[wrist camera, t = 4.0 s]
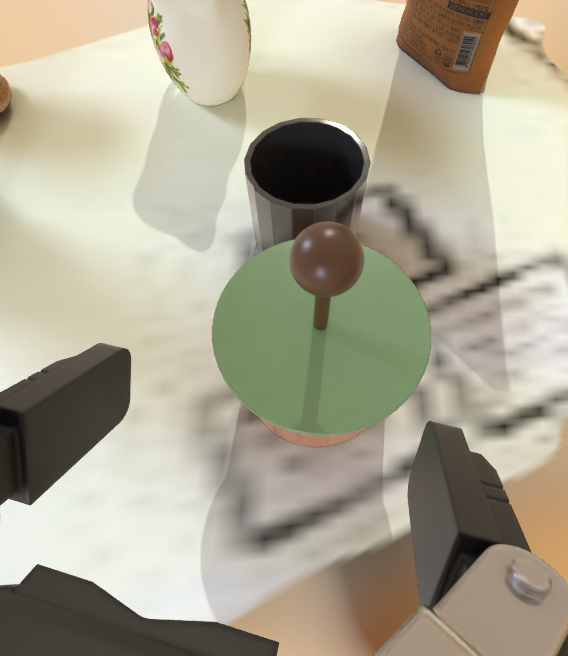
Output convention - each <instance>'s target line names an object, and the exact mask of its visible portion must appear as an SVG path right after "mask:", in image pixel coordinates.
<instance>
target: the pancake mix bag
mask: <svg viewBox="0 0 568 656" xmlns="http://www.w3.org/2000/svg"><path fill="white" fill-rule="evenodd" d="M518 1H519V0H407V4H406V7H405V10H404V12H403V15H402V18H401V21H400V25H399V32H398V36H397V40H396V41H397V43H398V46H399V48H401V49H402V50H403V51H404V52H406V53H407V54H408V55H409V56H411V57H412V58H413V59H414V60H416V61H417V62H418V63H419V64H420V65H422V66H423V67H424V68H426V69H427V70H428V71H429V72H431V73H432V74H433V75H434V76H436V77H437V78H438V79H439V80H440V81H441V82H442V83H443V84H444V85H445V86H447V87H448V88H449V89H453V90H456V91H460V92H470V93H484V90H485V86H486V81H487V78H488V74H489V71H490V68H491V65H492V63H493V60H494V57H495V54H496V51H497V48H498V45H499V42H500V40H501V37H502V35H503V33H504V30H505V28H506V27H507V25H508V23H509V21H510V19H511V17H512V15H513V12H514V10H515V8H516V5H517V3H518Z"/></svg>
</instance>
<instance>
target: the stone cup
mask: <svg viewBox="0 0 568 656" xmlns="http://www.w3.org/2000/svg"><path fill="white" fill-rule="evenodd" d="M10 99H11V90H10V87H9V84H8V82H7V80H6V79H5V78H4V77H3V76H1V75H0V113H1V112H2V111H4V110H5V109H6V108H7V107H8V105H9V104H10Z"/></svg>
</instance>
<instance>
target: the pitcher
mask: <svg viewBox="0 0 568 656" xmlns="http://www.w3.org/2000/svg"><path fill="white" fill-rule="evenodd" d="M148 20H149V27H150V31H151V36H152V39H153V42H154V46H155V48H156V51H157V54H158V56H159V58H160V60H161V62H162V64H163V66H164V68H165V70H166V72H167V73H168V75H169V76H170V78H171V79H172V81H173V82H174V83H175V85H176V86H177V87H178V88H179V90H180V91H181V92H182V93H183V94H185V95H186V96H187V97H189V98H190V99H191V100H192V101H193V102H195V103H197V104H200V105H206V106H214V105H219V104H223V103H225V102H227V101H229V100H231V99H232V98H233V97H235V95H236V94H237V93H238V91H239V89H240V87H241V86H242V84H243V82H244V79H245V76H246V73H247V69H248V65H249V59H250V51H251V27H250V18H249V13H248V8H247V4H246V1H245V0H148Z"/></svg>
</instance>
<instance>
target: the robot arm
mask: <svg viewBox="0 0 568 656" xmlns="http://www.w3.org/2000/svg"><path fill="white" fill-rule="evenodd" d="M130 381H131V355H130V352H129V350H128V349H125V348H120V347H116V346H112V345H108V344H104V343H99V344H97V345H95V346H93V347H91V348H90V349H88V350H86V351H84V352H83V353H81V354H79V355H77V356H74V357H70V358H67V359H63V360H60V361H57V362H55V363H53V364H51V365H49V366H48V367H46V368H44V369H42V370H41V372H37V373H35V374H33V375H31V376H29V377H28V379H27V380H26V379H24V380H22V381H20V382H18V383H17V384H15V385H13V386H11V387H9V388H8V389H6V390H4V391H2V392H0V505H2V504H3V503H4V502H5V501H6V500H7V499H11V500H14V501H18V502H21V503H24V504H28V505H32V504H33V503H34V502H35V501H36V500H37V499H38V498H39V497H40V496H41V495H42V494H43V493H44V492H46V491H47V490H48V489H49V488H50V487H51V486H52V485H53V484H54V483H55V482H56V481H57V480H58V479H60V478H61V477H62V476H63V475H64V474H65V473H66V472H67V471H68V470H69V469H70V468H71V467H72V466H74V465H75V464H76V463H77V462H78V461H79V460H80V459H81V458H82V457H83V456H84V455H85V454H86V453H88V452H89V451H90V450H91V449H92V448H93V447H94V446H95V445H96V444H97V443H98V442H99V441H100V440H102V439H103V438H104V437H105V436H106V435H107V434H108V433H109V432H110V431H111V430H112V429H113V428H114V427H116V426H117V425H118V424H119V423H120V422H121V421H122V419H123V418H124V416H125V415H126V413H127V410H128V407H129V403H130ZM408 505H409V514H410V523H411V532H412V541H413V550H414V560H415V569H416V578H417V587H418V596H419V605H420V607H419V608H418V609H417V610H416V611H415V612H414V613H413V614H412V615H411V616H410V617H409V618H408V619H407V620H406V621H405V622H404V623H403V624H402V625H401V627H400V628H399V629H398V630H397V631H396V632H395V633H394V634H393V635H392V636H391V637H390V638H389V639H388V640H387V641H386V642H385V644H383V646H382V647H381V648H380V649H379V650H378V651H377V652H376V653H375V654H374V655H373V656H568V583H567V582H566V581H565V580H564V579H563V577H562V576H561V575H560V574H559V573H558V572H557V571H556V570H555V569H553V568H552V567H551V566H550V565H549V564H548V563H546V562H545V561H544V560H542V559H541V558H539V557H537V556H536V555H534V554H532V553H531V550H530V548H529V546H528V543H527V541H526V539H525V536H524V534H523V532H522V530H521V527H520V525H519V522H518V520H517V518H516V515H515V513H514V511H513V509H512V506H511V505H510V504H509V499H508V497H507V495H506V492H505V490H503V485H502V483H501V481H500V478H499V476H498V474H497V471H496V470H495V469H494V468H493V467H492V466H491V464H490V463H489V462H488V461H487V460H486V459H485V458H484V457H483V456H482V455H481V454H478V453H474V452H470V451H469V448H468V445H467V442H466V440H465V437H464V434H463V431H462V429H461V428H457V427H453V426H449V425H444V424H440V423H436V422H432V421H429V422H428V423H427V424H426V427H425V429H424V432H423V435H422V438H421V442H420V445H419V448H418V451H417V454H416V457H415V460H414V464H413V467H412V470H411V473H410V478H409V483H408ZM0 519H1V511H0ZM278 646H279V642H276V641H273V640H270V639H267V638H264V637H260V636H257V635H254V634H251V633H248V632H245V631H242V630H239V629H236V628H233V627H230V626H227V625H224V624H220V623H217V622H205V621H182V620H160V619H147V618H144V617H141V616H140V615H138V614H136V613H135V612H134V611H132V610H131V609H130V608H128V607H127V606H125V605H124V604H123V603H121V602H120V601H118V600H117V599H116V598H114V597H113V596H111V595H110V594H109V593H107V592H106V591H105V590H103V589H102V588H100V587H99V586H98V585H96V584H95V583H93V582H91V581H88V580H85V579H82V578H79V577H76V576H73V575H69V574H66V573H63V572H60V571H57V570H54V569H51V568H48V567H45V566H42V565H39V564H37V565H36V566H35V567H34V568H33V569H32V571H31V572H30V573H29V574H28V575H27V576H26V577H25V578H24V580H23V581H22V582H21V583H20V584H13V585H0V656H276V655H277V651H278Z"/></svg>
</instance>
